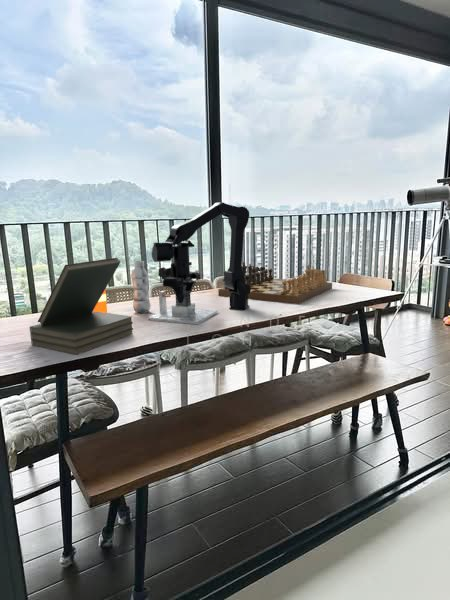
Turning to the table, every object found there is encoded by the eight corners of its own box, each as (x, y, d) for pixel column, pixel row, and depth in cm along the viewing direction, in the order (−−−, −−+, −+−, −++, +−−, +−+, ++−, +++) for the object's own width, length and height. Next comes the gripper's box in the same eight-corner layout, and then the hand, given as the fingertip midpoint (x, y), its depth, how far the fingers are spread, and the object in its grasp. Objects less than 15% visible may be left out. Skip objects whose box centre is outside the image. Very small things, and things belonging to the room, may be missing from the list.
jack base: (218, 312, 161) (217, 289, 159) (197, 324, 144) (196, 298, 142) (172, 309, 168) (171, 287, 166) (147, 320, 152) (146, 295, 150)
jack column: (191, 312, 157) (190, 290, 155) (186, 314, 153) (185, 292, 152) (181, 311, 159) (180, 290, 157) (175, 313, 155) (174, 292, 153)
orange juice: (96, 312, 166) (92, 262, 162) (108, 316, 160) (103, 263, 156) (77, 316, 161) (72, 264, 157) (88, 319, 154) (83, 265, 150)
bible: (91, 328, 144) (84, 255, 139) (133, 335, 134) (128, 257, 129) (31, 346, 125) (21, 263, 120) (76, 356, 115) (67, 265, 110)
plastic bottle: (147, 314, 161) (144, 262, 157) (130, 314, 162) (127, 262, 158) (153, 310, 167) (150, 260, 163) (137, 310, 168) (134, 260, 164)
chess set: (332, 290, 205) (332, 259, 202) (298, 305, 172) (299, 269, 169) (260, 284, 227) (260, 256, 224) (218, 297, 194) (217, 265, 191)
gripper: (174, 256, 163) (176, 296, 167) (148, 262, 147) (151, 305, 150) (200, 257, 159) (201, 297, 162) (176, 263, 142) (178, 307, 146)
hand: (183, 301), depth 155 cm, fingers closed on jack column, 4 cm apart
